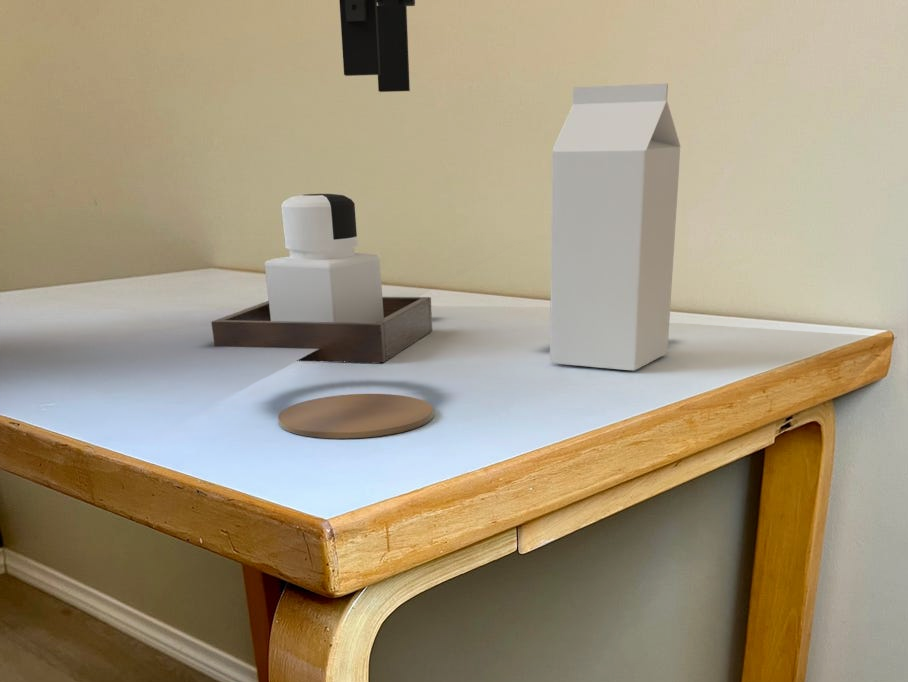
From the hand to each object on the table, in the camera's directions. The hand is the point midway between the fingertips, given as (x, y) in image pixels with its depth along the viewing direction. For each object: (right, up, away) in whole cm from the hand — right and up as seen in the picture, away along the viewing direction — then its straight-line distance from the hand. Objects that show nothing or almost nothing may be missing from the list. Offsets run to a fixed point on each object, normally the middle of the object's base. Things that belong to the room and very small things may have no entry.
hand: (379, 84), depth 84 cm
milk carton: (+19, -24, -4) cm, 31 cm away
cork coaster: (0, -32, -19) cm, 37 cm away
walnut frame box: (-5, -20, +5) cm, 21 cm away
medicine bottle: (-5, -20, +5) cm, 22 cm away
